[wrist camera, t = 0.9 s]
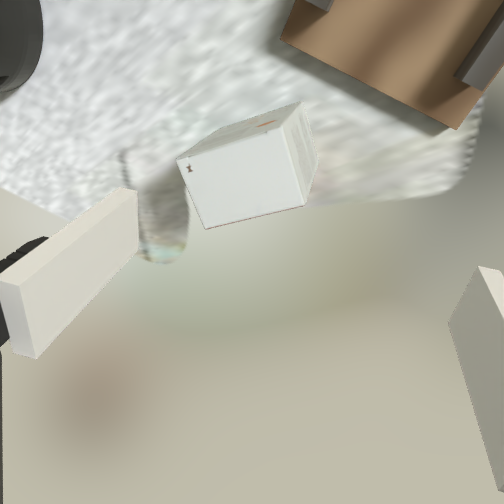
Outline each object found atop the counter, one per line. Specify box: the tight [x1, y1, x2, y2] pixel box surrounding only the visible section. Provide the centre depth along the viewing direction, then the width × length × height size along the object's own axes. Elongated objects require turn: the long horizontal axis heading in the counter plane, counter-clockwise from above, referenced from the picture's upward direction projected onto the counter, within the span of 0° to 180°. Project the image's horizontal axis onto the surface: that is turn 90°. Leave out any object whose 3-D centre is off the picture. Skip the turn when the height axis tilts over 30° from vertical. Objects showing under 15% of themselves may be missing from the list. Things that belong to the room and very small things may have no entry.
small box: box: [176, 101, 319, 229], centre depth 31 cm, size 8×6×10 cm
